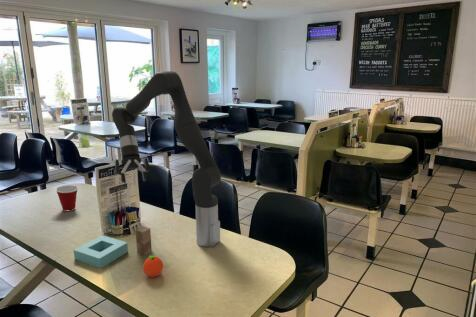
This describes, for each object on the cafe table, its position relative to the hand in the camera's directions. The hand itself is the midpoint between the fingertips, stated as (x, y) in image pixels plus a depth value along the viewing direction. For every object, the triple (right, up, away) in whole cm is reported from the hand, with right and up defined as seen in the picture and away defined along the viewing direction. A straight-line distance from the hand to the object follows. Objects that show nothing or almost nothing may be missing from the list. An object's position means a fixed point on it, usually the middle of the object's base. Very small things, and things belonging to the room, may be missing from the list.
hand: (134, 181), depth 152 cm
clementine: (+14, -32, -25) cm, 43 cm away
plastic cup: (-44, -17, +34) cm, 58 cm away
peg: (+7, -28, -9) cm, 30 cm away
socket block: (-9, -28, -12) cm, 32 cm away
